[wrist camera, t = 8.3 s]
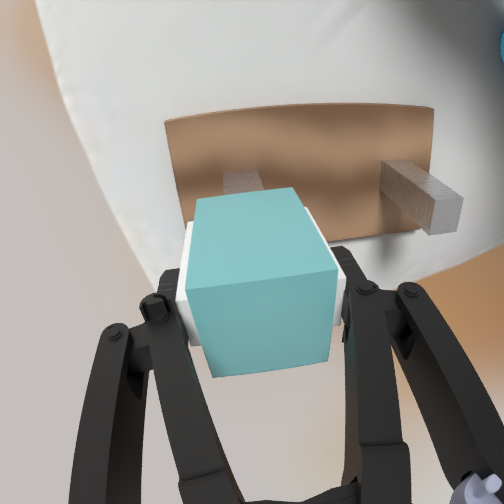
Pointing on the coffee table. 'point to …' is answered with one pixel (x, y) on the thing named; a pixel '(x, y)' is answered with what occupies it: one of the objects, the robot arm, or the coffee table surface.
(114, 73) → the coffee table surface
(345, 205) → the board
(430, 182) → the post
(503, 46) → the perfume bottle
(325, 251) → the teal rectangular prism
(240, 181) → the post
